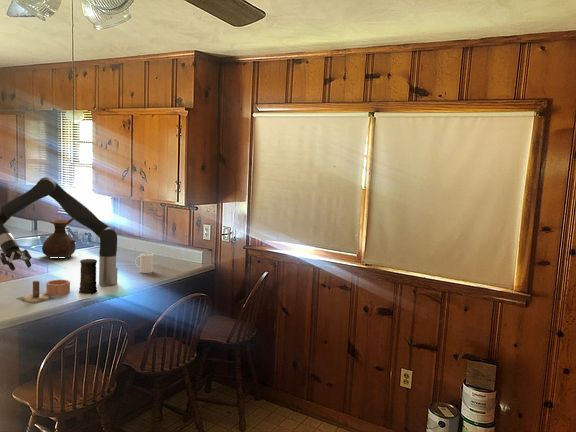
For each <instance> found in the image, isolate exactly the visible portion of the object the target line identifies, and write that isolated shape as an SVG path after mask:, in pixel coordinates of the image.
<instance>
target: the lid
mask: <svg viewBox="0 0 576 432" xmlns="http://www.w3.org/2000/svg"><path fill="white" fill-rule="evenodd" d="M49 296H50V295H48V294H47V293H40V281H39V280H33V281H32V293H31V294H27V295H24V296H22V297H23V302H25V301H26V303H29V302H39V301H44V300H47V299H49Z"/></svg>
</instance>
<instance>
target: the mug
mask: <svg viewBox="0 0 576 432" xmlns="http://www.w3.org/2000/svg"><path fill="white" fill-rule="evenodd" d="M139 258H140V259H139ZM137 259H139V264H140V265H138V264H137ZM134 263H135V266H136V267H137V268H139V273H140V272H152V271H153V272H154V253H150V252H149V253H148V252H143V253H140V255H138V256H137V257H136V258H135V259H134Z"/></svg>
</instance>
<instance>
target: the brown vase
mask: <svg viewBox="0 0 576 432" xmlns="http://www.w3.org/2000/svg"><path fill="white" fill-rule="evenodd" d="M73 221H74V219H73V218H72V217H71V218H70V219H65V218H64V219H62V218H61V219H52V220H50V221H49V223H50V224H53V226H54V232H53V233H51V235H49V236H48V237H47V238H46V239H45V240H44V242H43V244H42V247H41V250H42V254H43V255H45V256H46V257H47V258H48V257H58V258H59V257H67V258H69V257H70V256H72V255H73V254H74V253H75V251H76V241H77V238H72V237H71V236H70V235H69V234H67V232H66V227H67V226H68V225H70V224H71V223H72V222H73ZM68 256H69V257H68Z"/></svg>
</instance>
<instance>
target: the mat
mask: <svg viewBox="0 0 576 432" xmlns="http://www.w3.org/2000/svg"><path fill="white" fill-rule="evenodd" d="M23 297H24V296H21V297H16V298H15V300H19V301H23ZM56 299H57V297H52V296H51V295H49V299H47V300H44V301H39V302H28V303H29V304H33V305H38V304H41V303H45V302H49V301H53V300H56ZM23 302H24V303H25V302H26V301H23ZM26 303H27V302H26Z"/></svg>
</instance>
